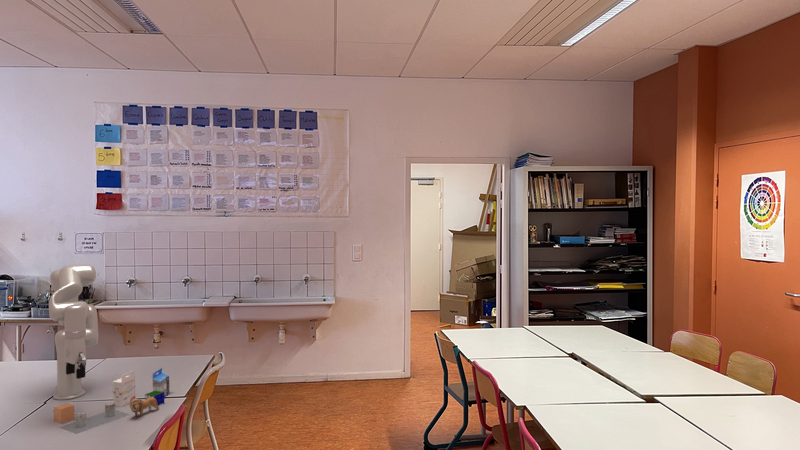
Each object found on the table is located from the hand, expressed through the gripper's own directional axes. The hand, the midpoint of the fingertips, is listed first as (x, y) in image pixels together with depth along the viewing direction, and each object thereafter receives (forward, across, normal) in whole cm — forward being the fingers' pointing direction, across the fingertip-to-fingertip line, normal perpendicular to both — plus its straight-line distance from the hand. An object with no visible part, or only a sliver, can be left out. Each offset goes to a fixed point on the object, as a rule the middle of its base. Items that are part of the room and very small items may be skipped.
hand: (75, 375), depth 211 cm
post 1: (+18, +9, -2) cm, 20 cm away
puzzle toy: (+19, +10, +28) cm, 35 cm away
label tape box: (+19, +1, +36) cm, 41 cm away
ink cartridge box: (+19, -2, +21) cm, 28 cm away
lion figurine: (+19, +18, +20) cm, 33 cm away
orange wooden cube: (+19, -3, -3) cm, 19 cm away
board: (+19, +8, +4) cm, 21 cm away
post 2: (+18, +8, +10) cm, 22 cm away
